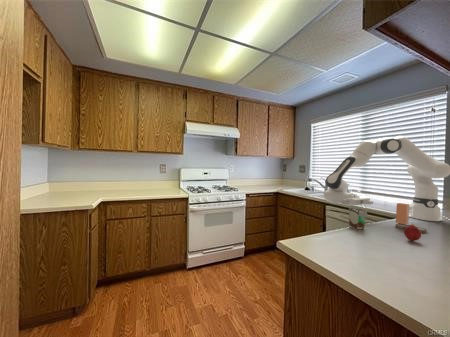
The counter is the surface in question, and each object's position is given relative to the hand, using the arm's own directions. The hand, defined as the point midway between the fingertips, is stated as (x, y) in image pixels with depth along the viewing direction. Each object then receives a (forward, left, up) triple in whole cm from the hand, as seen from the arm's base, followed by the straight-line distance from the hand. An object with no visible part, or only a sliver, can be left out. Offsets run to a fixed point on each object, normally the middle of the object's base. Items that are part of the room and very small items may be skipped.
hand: (372, 203), depth 126 cm
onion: (+33, +6, -12) cm, 36 cm away
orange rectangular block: (+8, +12, -10) cm, 18 cm away
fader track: (+10, +15, -11) cm, 22 cm away
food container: (+21, -12, -12) cm, 27 cm away
